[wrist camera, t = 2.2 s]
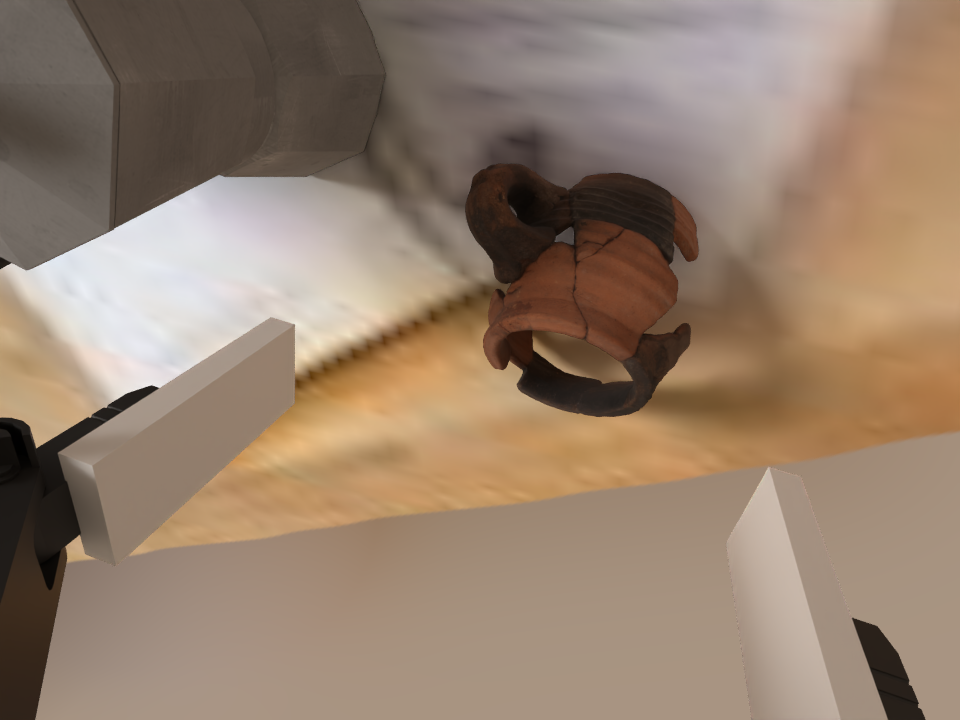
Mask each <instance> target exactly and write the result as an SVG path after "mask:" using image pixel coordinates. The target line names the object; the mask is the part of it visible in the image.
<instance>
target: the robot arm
mask: <svg viewBox="0 0 960 720" xmlns="http://www.w3.org/2000/svg"><path fill="white" fill-rule="evenodd" d="M294 403H295V324H291V323H288V322H285V321H281V320H278V319H275V318H269V319H268V320H266V321H264V322H263V323H261V324H260V325H258V326H257V327H255V328H253V329H252V330H250V331H249V332H247V333H246V334H244V335H242V336H241V337H239V338H238V339H236V340H235V341H233V342H231V343H230V344H228V345H227V346H225V347H224V348H222V349H220V350H219V351H217V352H216V353H214V354H213V355H211V356H209V357H208V358H206V359H205V360H203V361H202V362H200V363H198V364H197V365H195V366H194V367H192V368H191V369H189V370H187V371H186V372H184V373H183V374H181V375H180V376H178V377H176V378H175V379H173V380H172V381H170V382H169V383H167V384H165V385H164V386H162V387H161V388H158V387H155V386H152V385H151V386H148V387H145V388H142V389H139V390H136V391H133V392H130V393H127V394H125V395H124V396H122V397H120V398H119V399H117V400H115V401H114V402H112V403H111V404H109V405H108V407H107V408H102V409H101V410H99V411H97V412H96V413H94V414H92V417H91V418H89V417H87V418H86V419H84V420H82V421H81V422H79V423H78V424H76V425H74V426H73V427H71V428H69V429H68V430H66V431H64V432H63V433H61V434H59V435H58V436H56V437H54V438H53V439H51V440H50V441H48V442H46V443H45V444H43V445H41V446H40V447H38V448H36V446H35V443H34V439H33V436H32V433H31V429H30V426H28V425H27V424H26V423H25V422H24V421H22V420H18V419H14V418H0V720H35V718H36V713H37V708H38V702H39V698H40V693H41V688H42V683H43V677H44V672H45V668H46V663H47V658H48V652H49V647H50V642H51V637H52V632H53V627H54V622H55V617H56V612H57V607H58V602H59V596H60V592H61V587H62V582H63V577H64V572H65V567H66V562H67V552H66V547H65V546H66V545H67V544H69V543H70V542H71V541H72V540H74V539H75V538H76V537H77V536H79V535H80V537H81V540H82V544H83V547H84V551H85V554H86V555H89V556H91V557H94V558H96V559H99V560H101V561H104V562H107V563H109V564H111V565H114V566H117V565H118V564H119V563H120V562H121V561H123V560H124V559H125V558H126V557H127V556H128V555H129V554H130V553H131V552H132V551H134V550H135V549H136V548H137V547H138V546H139V545H140V544H141V543H142V542H143V541H144V540H146V539H147V538H148V537H149V536H150V535H151V534H152V533H153V532H154V531H155V530H157V529H158V528H159V527H160V526H161V525H162V524H163V523H164V522H165V521H166V520H167V519H169V518H170V517H171V516H172V515H173V514H174V513H175V512H176V511H177V510H178V509H179V508H181V507H182V506H183V505H184V504H185V503H186V502H187V501H188V500H189V499H190V498H192V497H193V496H194V495H195V494H196V493H197V492H198V491H199V490H200V489H201V488H202V487H204V486H205V485H206V484H207V483H208V482H209V481H210V480H211V479H212V478H213V477H214V476H216V475H217V474H218V473H219V472H220V471H221V470H222V469H223V468H224V467H225V466H227V465H228V464H229V463H230V462H231V461H232V460H233V459H234V458H235V457H236V456H237V455H239V454H240V453H241V452H242V451H243V450H244V449H245V448H246V447H247V446H248V445H249V444H251V443H252V442H253V441H254V440H255V439H256V438H257V437H258V436H259V435H260V434H262V433H263V432H264V431H265V430H266V429H267V428H268V427H269V426H270V425H271V424H272V423H274V422H275V421H276V420H277V419H278V418H279V417H280V416H281V415H282V414H283V413H284V412H286V411H287V410H288V409H289V408H290V407H291V406H292V405H293V404H294ZM726 548H727V554H728V561H729V568H730V575H731V582H732V589H733V596H734V602H735V609H736V616H737V622H738V630H739V637H740V643H741V650H742V657H743V663H744V670H745V678H746V684H747V691H748V698H749V705H750V712H751V719H752V720H925V717H924V715H923V713H922V710H921V709H920V708H918V704H919V703H918V700H917V698H916V695H915V693H914V691H913V688H912V686H910V685H909V679H908V676H907V674H906V671H905V669H904V666H903V664H902V662H901V659H900V657H899V654H898V653H897V651H896V650H895V649H894V648H893V646H892V645H891V643H890V642H889V641H888V640H887V638H886V637H885V636H884V634H883V633H882V632H881V630H880V629H879V628H878V627H877V626H875V625H872V624H869V623H866V622H863V621H860V620H857V619H854V618H851V615H850V612H849V609H848V607H847V604H846V601H845V598H844V595H843V592H842V590H841V587H840V584H839V581H838V578H837V576H836V573H835V570H834V567H833V565H832V562H831V559H830V556H829V553H828V550H827V547H826V545H825V542H824V539H823V536H822V533H821V531H820V528H819V525H818V522H817V520H816V517H815V514H814V511H813V508H812V506H811V503H810V500H809V497H808V494H807V491H806V489H805V486H804V483H803V480H802V477H801V476H799V475H795V474H792V473H789V472H785V471H782V470H779V469H775V468H772V467H768V469H767V471H766V473H765V475H764V476H763V478H762V480H761V482H760V484H759V485H758V487H757V489H756V491H755V492H754V494H753V496H752V498H751V499H750V501H749V503H748V505H747V507H746V508H745V510H744V512H743V514H742V516H741V517H740V519H739V521H738V523H737V524H736V526H735V528H734V530H733V531H732V533H731V535H730V537H729V539H728V540H727V542H726Z"/></svg>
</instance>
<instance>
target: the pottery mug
mask: <svg viewBox="0 0 960 720" xmlns="http://www.w3.org/2000/svg"><path fill="white" fill-rule="evenodd" d="M509 205H510V206H512V207H513V208H514V210H515V212H516V213H517V217H516V216H515V215H514V214H513V212H512V211H511V209H510V207H509ZM465 212H466V219H467V223H468V226H469V229H470V231H471V233H472V234H473V236H474V238H475V239H476V241H477V242H478V243H479V244H480V245H481V247H482V248H483V249H484V250H485V251H486V253H487V254H488V255H489V257H490V258H491V260H492V261H493V268H494V274H495V277H496V279H497V280H498V281H499V282H501V283H505V284H508V283H511V286H510V287H509V289H508V290H507V295H505V294H504V292H503V291H502V290H500V289H495V291H494V292H493V295H492V298H491V301H490V307H489V311H488V318H489V325H490V327H489V328H488V329H487V331H486V333H485V335H484V339H483V348H484V352H485V355H486V356H487V358H488V360H489V362H490V364H491V365H492V366H493V367H494V368H495V369H500V370H504V369H505V368H506V367H507V365H508V362H509V361H511V362H512V363H513V364H515V365H516V366H517V367H519V368H520V369H522V370H523V374H522V376H521V378H520V380H519V382H518V383H517V387H518V389H519V390H520V391H521V392H522V393H524V394H526V395H528V396H529V397H531V398H533V399H535V400H537V401H540V402H542V403H544V404H546V405H549V406H552V407H555V408H557V409H561V410H564V411H567V412H573V413H577V414H578V413H581V414H584V415H589V416H596V417H602V416H607V417H616V416H622V415H629V414H632V413H633V412H636V411H639V410H640V408H642V407H643V406H644V405H645V404H646V403H647V402H648V400H649V399H651V397H652V393H653V392H654V391H655V388H656V386H657V385H658V383H659V382H660V381H661V380H662V379H663V377H664V376H665V375H666V374H667V372H668V371H669V370H671V369H672V368H673V367H674V366H675V364H676V363H677V361H678V358H679V357H680V355H681V354H682V353H683V352H684V351H685V350H686V349H687V348H688V346H689V344H690V334H691V328H690V325H689V324H687V323H684V324H681V325H680V326H679V327H678V328H677V329H676V330H675V331H674V332H673V333H666V334H661V335H652V334H643V333H644V332H645V331H646V330H647V329H649V328H650V327H652V326H653V325H654V324H655V323H656V321H657V320H658V319H660V318H661V317H662V316H663V315H664V314H665V313H666V312H667V311H668V310H669V309H670V308H671V307H672V306H673V305H674V304H675V303H676V301H677V292H678V280H677V278H676V276H675V275H674V273H673V272H672V270H671V269H670V267H669V264H670V263H671V262H672V261H673V253H674V246H673V241H674V242H675V243H676V245H677V246H678V247H679V249H680V251H681V252H682V254H683V256H684V258H685V259H686V261H688V262H691V261H694V260H696V259H697V257H698V251H699V249H698V241H697V237H696V231H697V230H696V225H695V223H694V220H693V218H692V216H691V215H690V213H689V212H688V211H687V209H686V208H685V206H684V205H683V204H682V203H681V202H679V201H678V200H677V199H676V198H675V197H674V196H672V195H671V194H670V193H669V192H668V191H667V190H665V189H663V188H662V187H660V186H658V185H656V184H654V183H652V182H651V181H649V180H646V179H642V178H638V177H635V176H632V175H629V174H622V173H610V174H597V175H591V176H586V177H585V178H583V179H582V180H581V182H580V183H579V184H576V185H575V186H574V187H573V188H571V189H569V190H567V189H565V188H563V187H559V186H556V185H554V184H552V183H550V182H548V181H547V180H545V179H544V178H542V177H541V176H539V175H538V174H537V173H536V172H534V171H533V170H531V169H529V168H527V167H525V166H523V165H519V164H496V165H491V166H489V167H488V168H486V169H483V170H481V171H479V172H478V173H477V174H476V175H475V176H474V177H473V180H472V185H471V189H470V192H469V195H468V198H467V201H466V206H465ZM569 227H573V228H574V245H569V244H567V243H564V242H554V241H555V238H556V236H557V235H559V234H560V233H562V232H563V231H565V230H566V229H568V228H569ZM532 330H540V331H550V332H556V333H561V334H566V335H569V336H572V337H575V338H578V339H585V340H586V341H587V342H588V343H590V344H592V345H595V346H597V347H598V348H600V349H602V350H603V351H605V352H607V353H608V354H610V355H611V356H613V357H614V358H615V359H616V360H618V361H620V362H622V364H623V365H624V367H625V368H626V370H627V371H628V372H629V374H630V375H631V377H632V379H633V381H627V382H611V383H606V384H602V382H601V381H600V380H596V379H592V378H586V377H580V376H575V375H572V374H569V373H565V372H563V371H562V370H560V369H558V368H556V367H555V366H554V365H552V364H551V363H549V362H548V361H547V360H546V359H544V358H543V357H541V356H540V355H539V354H538V353H537V352H535V351H534V350H533V339H532Z"/></svg>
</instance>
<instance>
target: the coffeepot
mask: <svg viewBox="0 0 960 720" xmlns="http://www.w3.org/2000/svg"><path fill="white" fill-rule="evenodd" d="M385 75H386V74H385V71H384V68H383V65H382V63H381V60H380V57H379V54H378V51H377V48H376V45H375V42H374V38H373V35H372V32H371V30H370V28H369V26H368V24H367V22H366V20H365V18H364V16H363V13H362V12H361V10H360V9H359V6H358V4H357V1H356V0H0V269H1V268H3V267H5V266H7V265H9V264H11V263H13V264H15V265H17V266H19V267H21V268H23V269H24V270H29V269H32V268H34V267H36V266H38V265H41V264H43V263H45V262H47V261H49V260H51V259H53V258H55V257H57V256H59V255H62V254H64V253H66V252H68V251H70V250H72V249H74V248H76V247H78V246H80V245H83V244H85V243H87V242H89V241H91V240H93V239H95V238H97V237H99V236H101V235H104V234H106V233H108V232H110V231H112V230H114V228H116V227H118V226H120V225H122V224H124V223H126V222H128V221H130V220H132V219H134V218H135V217H137V216H139V215H141V214H143V213H145V212H147V211H149V210H151V209H153V208H155V207H157V206H159V205H161V204H163V203H165V202H167V201H169V200H171V199H173V198H175V197H176V196H178V195H180V194H182V193H184V192H186V191H188V190H190V189H192V188H194V187H196V186H198V185H200V184H202V183H204V182H206V181H208V180H210V179H212V178H214V177H216V176H217V175H221V176H224V177H307V176H309V175H311V174H314V173H316V172H318V171H320V170H323V169H325V168H327V167H330V166H332V165H334V164H336V163H338V162H341V161H343V160H345V159H348V158H350V157H352V156H354V155H357V154H359V153H361V152H363V151H364V149H365V146H366V143H367V140H368V137H369V134H370V131H371V128H372V125H373V123H374V120H375V118H376V115H377V112H378V106H379V101H380V96H381V89H382V86H383V82H384V78H385Z"/></svg>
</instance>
